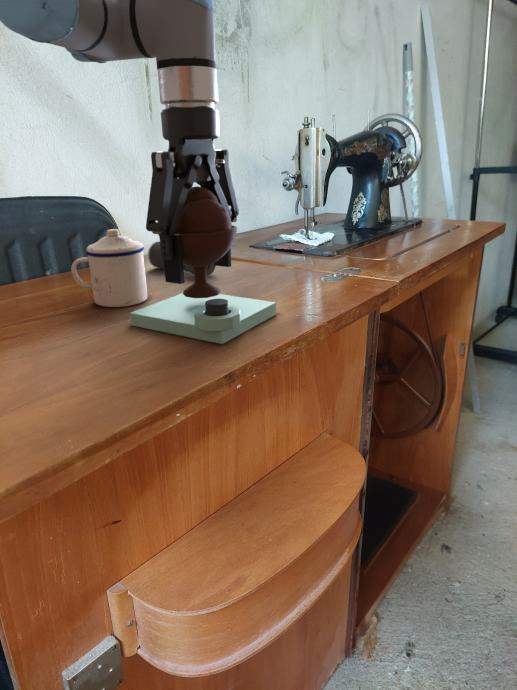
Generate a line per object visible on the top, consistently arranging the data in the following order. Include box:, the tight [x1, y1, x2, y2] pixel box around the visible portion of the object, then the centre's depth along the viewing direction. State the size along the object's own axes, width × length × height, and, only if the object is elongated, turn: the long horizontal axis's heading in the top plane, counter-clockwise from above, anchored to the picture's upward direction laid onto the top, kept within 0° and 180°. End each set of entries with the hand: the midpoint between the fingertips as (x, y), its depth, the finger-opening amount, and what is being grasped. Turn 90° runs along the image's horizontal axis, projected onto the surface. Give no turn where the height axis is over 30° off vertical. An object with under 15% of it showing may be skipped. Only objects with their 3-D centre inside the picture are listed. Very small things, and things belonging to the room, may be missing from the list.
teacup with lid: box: [70, 228, 148, 308], centre depth 84 cm, size 12×9×12 cm
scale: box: [129, 292, 277, 345], centre depth 74 cm, size 17×15×4 cm
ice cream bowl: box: [167, 185, 238, 298], centre depth 73 cm, size 11×11×15 cm
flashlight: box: [147, 240, 217, 277], centre depth 104 cm, size 15×5×5 cm, turn 49°
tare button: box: [205, 299, 229, 316], centre depth 67 cm, size 3×3×2 cm
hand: (200, 273), depth 75 cm, fingers closed on ice cream bowl, 11 cm apart
